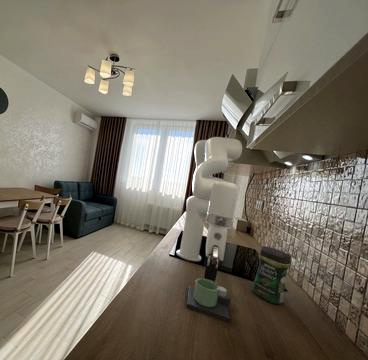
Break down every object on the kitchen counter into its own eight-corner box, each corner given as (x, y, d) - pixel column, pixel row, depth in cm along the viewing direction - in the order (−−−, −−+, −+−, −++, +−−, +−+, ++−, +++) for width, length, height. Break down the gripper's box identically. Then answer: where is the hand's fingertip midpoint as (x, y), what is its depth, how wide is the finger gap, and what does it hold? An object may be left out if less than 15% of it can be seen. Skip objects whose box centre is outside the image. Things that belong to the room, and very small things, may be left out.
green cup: (193, 292, 73) (196, 276, 72) (215, 299, 70) (218, 283, 70) (192, 302, 66) (195, 285, 66) (216, 311, 64) (220, 293, 64)
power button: (215, 290, 73) (216, 284, 73) (225, 293, 72) (226, 288, 72) (215, 295, 70) (216, 289, 70) (226, 298, 69) (227, 292, 69)
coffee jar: (248, 291, 83) (257, 244, 82) (259, 288, 87) (268, 244, 86) (275, 307, 74) (285, 254, 74) (286, 303, 78) (296, 254, 78)
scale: (188, 288, 77) (190, 280, 77) (227, 300, 73) (229, 292, 73) (186, 307, 65) (188, 297, 65) (233, 323, 61) (235, 313, 61)
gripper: (236, 229, 58) (224, 289, 59) (228, 218, 75) (219, 266, 75) (207, 222, 61) (196, 281, 61) (205, 213, 77) (197, 259, 78)
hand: (208, 272), depth 68 cm, fingers open, 9 cm apart
